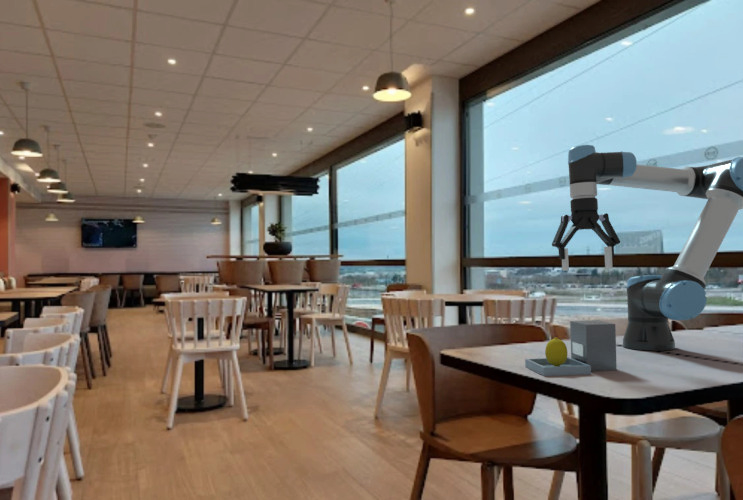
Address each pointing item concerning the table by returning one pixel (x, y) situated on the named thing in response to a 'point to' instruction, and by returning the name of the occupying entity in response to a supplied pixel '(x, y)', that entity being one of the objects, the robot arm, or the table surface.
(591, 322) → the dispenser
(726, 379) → the table surface
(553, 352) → the lemon
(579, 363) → the dish
